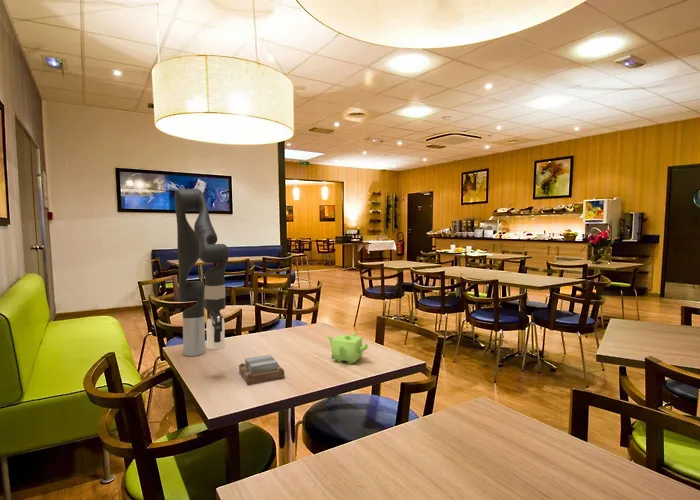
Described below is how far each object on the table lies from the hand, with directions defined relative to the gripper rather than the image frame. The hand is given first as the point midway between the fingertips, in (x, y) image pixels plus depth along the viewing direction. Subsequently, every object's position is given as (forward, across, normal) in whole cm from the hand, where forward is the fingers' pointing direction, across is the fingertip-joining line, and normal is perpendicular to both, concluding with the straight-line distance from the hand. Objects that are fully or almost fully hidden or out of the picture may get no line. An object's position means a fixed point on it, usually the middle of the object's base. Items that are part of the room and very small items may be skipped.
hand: (215, 339), depth 147 cm
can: (+3, 0, 0) cm, 3 cm away
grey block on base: (+15, +6, +16) cm, 23 cm away
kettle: (+15, +7, +54) cm, 56 cm away
